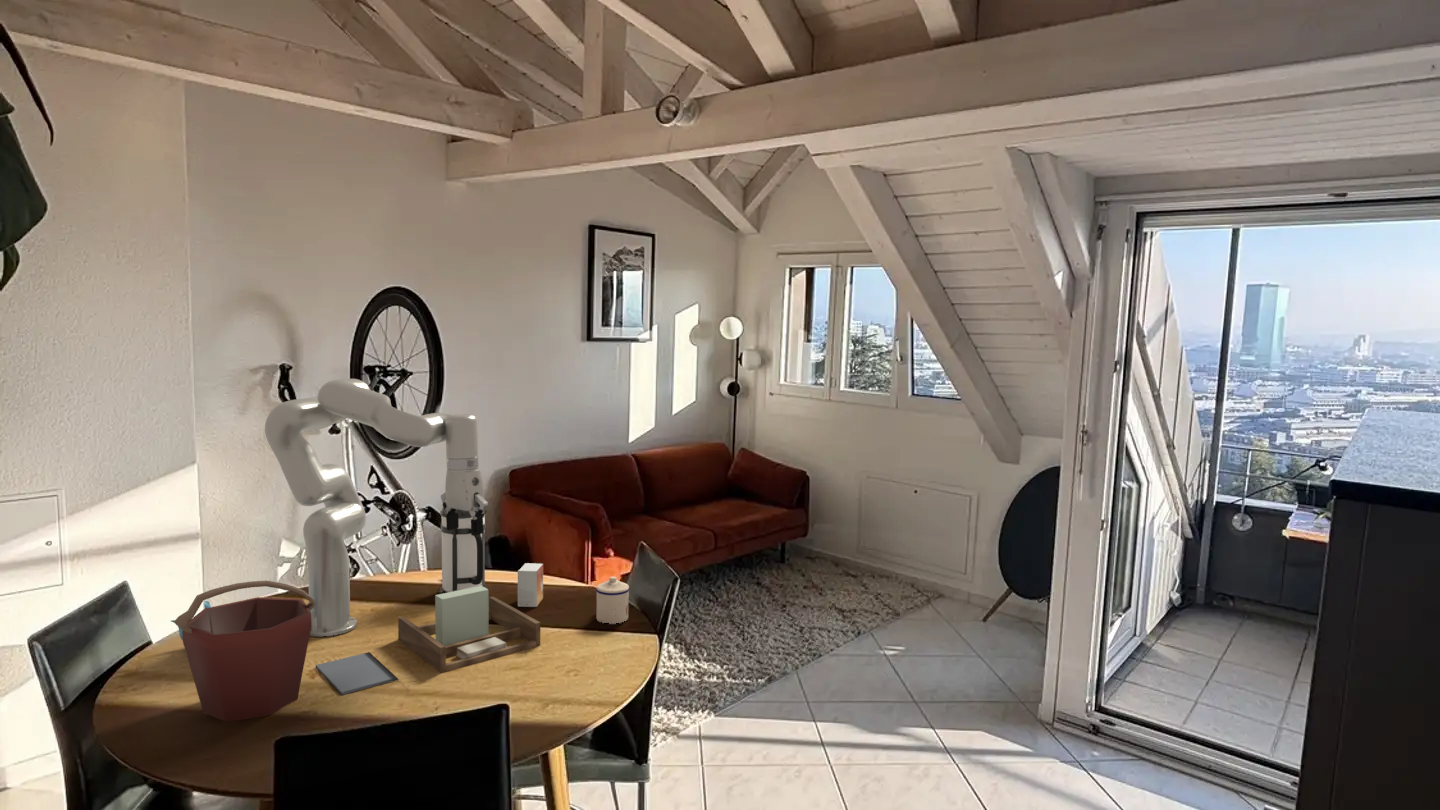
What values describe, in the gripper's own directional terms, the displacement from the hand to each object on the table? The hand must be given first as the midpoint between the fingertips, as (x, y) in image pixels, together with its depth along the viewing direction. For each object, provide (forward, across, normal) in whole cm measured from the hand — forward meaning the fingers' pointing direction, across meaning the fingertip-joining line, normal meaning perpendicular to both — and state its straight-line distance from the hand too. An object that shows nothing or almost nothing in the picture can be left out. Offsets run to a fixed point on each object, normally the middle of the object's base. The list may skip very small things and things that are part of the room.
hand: (464, 531), depth 201 cm
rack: (+28, -5, +4) cm, 28 cm away
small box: (+28, +8, -28) cm, 40 cm away
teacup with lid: (+29, -17, -34) cm, 47 cm away
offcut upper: (+26, -13, +6) cm, 30 cm away
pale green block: (+28, -2, +3) cm, 28 cm away
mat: (+27, +1, +26) cm, 37 cm away
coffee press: (+27, +28, -21) cm, 44 cm away
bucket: (+27, +6, +49) cm, 56 cm away
